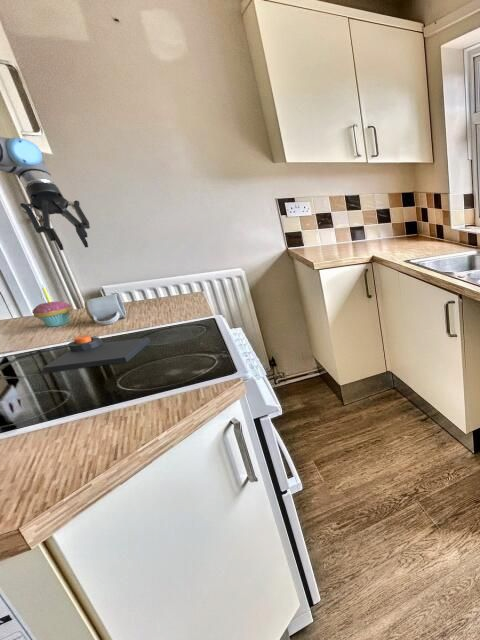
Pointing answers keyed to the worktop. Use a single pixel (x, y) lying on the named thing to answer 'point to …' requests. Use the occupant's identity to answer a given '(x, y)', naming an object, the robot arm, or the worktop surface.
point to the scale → (97, 354)
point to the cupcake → (53, 312)
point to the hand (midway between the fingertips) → (73, 245)
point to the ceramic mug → (105, 309)
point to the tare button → (82, 339)
